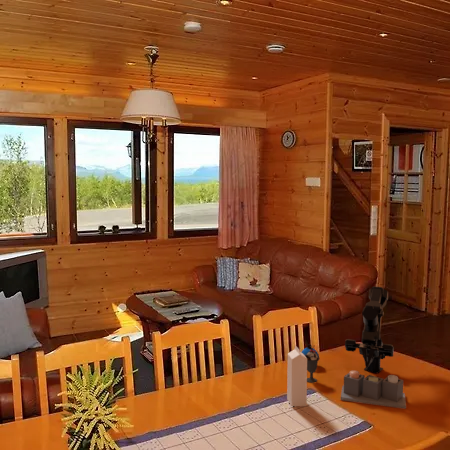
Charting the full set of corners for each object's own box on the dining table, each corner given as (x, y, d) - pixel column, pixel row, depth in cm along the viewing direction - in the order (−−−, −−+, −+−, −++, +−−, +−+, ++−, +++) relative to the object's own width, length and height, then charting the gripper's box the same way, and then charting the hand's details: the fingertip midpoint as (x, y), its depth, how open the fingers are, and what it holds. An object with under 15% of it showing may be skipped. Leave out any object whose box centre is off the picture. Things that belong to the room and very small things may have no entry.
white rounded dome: (389, 383, 190) (390, 374, 189) (399, 386, 188) (399, 376, 187) (386, 387, 187) (386, 377, 187) (395, 389, 185) (395, 379, 184)
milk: (301, 399, 189) (302, 344, 187) (306, 406, 183) (307, 350, 181) (286, 400, 188) (287, 345, 186) (291, 407, 182) (292, 350, 180)
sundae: (318, 377, 209) (319, 344, 208) (319, 384, 203) (320, 349, 201) (303, 376, 210) (303, 343, 208) (304, 383, 203) (304, 349, 202)
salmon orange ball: (351, 379, 194) (352, 369, 194) (360, 381, 192) (360, 372, 192) (347, 382, 191) (348, 372, 191) (356, 384, 189) (356, 375, 189)
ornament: (319, 363, 226) (320, 342, 225) (317, 370, 217) (317, 348, 216) (301, 361, 228) (301, 340, 227) (298, 367, 220) (298, 346, 219)
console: (342, 388, 199) (343, 369, 198) (404, 396, 191) (405, 376, 191) (340, 400, 188) (341, 380, 187) (405, 408, 181) (406, 388, 180)
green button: (370, 385, 191) (370, 375, 191) (379, 387, 189) (379, 378, 189) (366, 388, 188) (366, 378, 188) (375, 391, 186) (376, 381, 186)
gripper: (346, 319, 198) (340, 354, 189) (393, 325, 191) (391, 361, 181) (348, 333, 206) (343, 367, 197) (394, 338, 198) (391, 374, 189)
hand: (366, 367), depth 191 cm, fingers closed
